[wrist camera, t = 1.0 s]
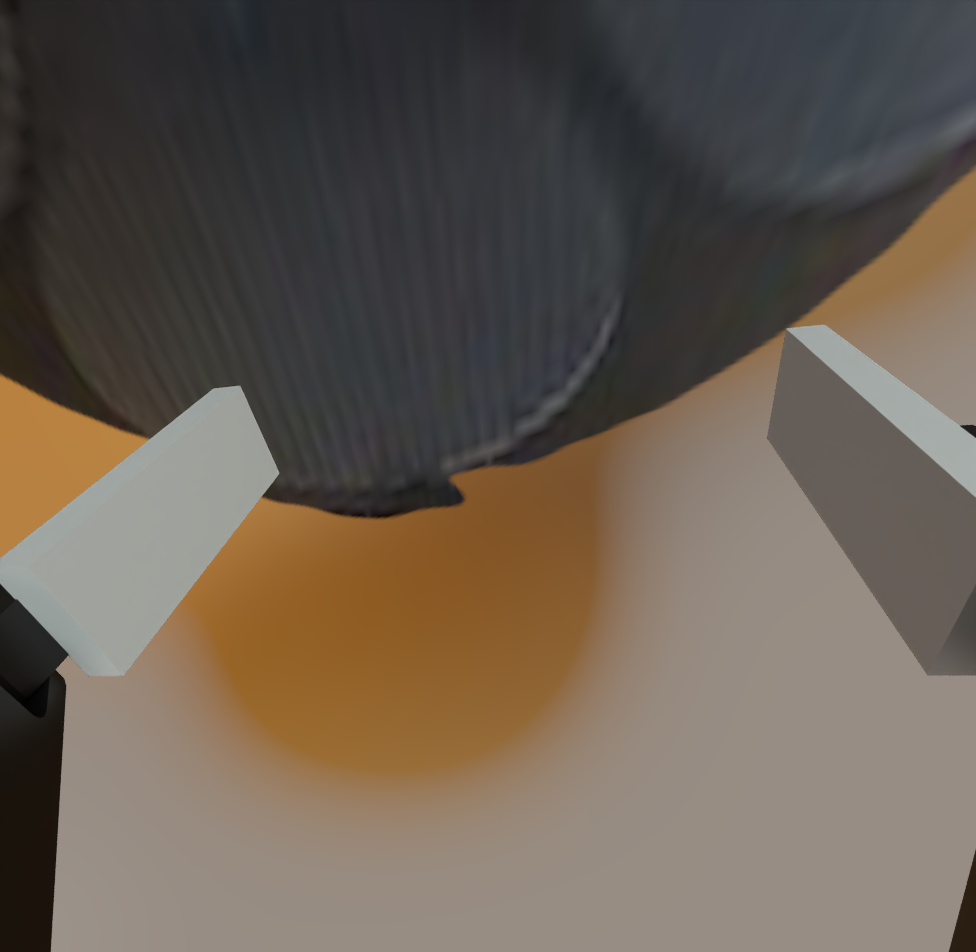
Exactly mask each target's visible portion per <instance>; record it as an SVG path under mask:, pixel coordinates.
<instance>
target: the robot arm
mask: <svg viewBox="0 0 976 952" xmlns="http://www.w3.org/2000/svg"><path fill="white" fill-rule="evenodd" d="M767 439H768V440H769V441H770V443H771V445H772V446H773V447H774V449H775V451H776V452H777V454H778V455H779V456H780V458H781V459H782V461H783V462H784V464H785V465H786V467H787V468H788V470H789V471H790V473H791V474H792V476H793V477H794V479H795V480H796V481H797V483H798V485H799V486H800V488H801V489H802V490H803V492H804V493H805V495H806V496H807V498H808V499H809V501H810V502H811V504H812V505H813V507H814V508H815V510H816V511H817V513H818V514H819V516H820V517H821V519H822V520H823V521H824V523H825V524H826V526H827V527H828V529H829V530H830V532H831V533H832V535H833V536H834V538H835V539H836V541H837V542H838V544H839V545H840V547H841V548H842V549H843V551H844V552H845V554H846V555H847V557H848V558H849V560H850V561H851V563H852V564H853V566H854V567H855V569H856V570H857V572H858V573H859V575H860V576H861V578H862V579H863V581H864V582H865V583H866V585H867V586H868V588H869V589H870V591H871V592H872V594H873V595H874V597H875V598H876V600H877V601H878V603H879V604H880V606H881V607H882V609H883V610H884V612H885V613H886V614H887V616H888V617H889V619H890V620H891V622H892V623H893V625H894V626H895V628H896V629H897V631H898V632H899V633H900V635H901V636H902V638H903V640H904V641H905V643H906V644H907V646H908V647H909V649H910V650H911V651H912V653H913V654H914V656H915V657H916V659H917V660H918V662H919V663H920V665H921V666H922V668H923V669H924V671H925V672H926V674H927V675H976V426H974V425H962V426H959V425H958V424H956V423H955V422H954V421H952V420H951V419H950V418H948V417H947V416H946V415H944V414H943V413H942V412H940V411H939V410H938V409H936V408H935V407H934V406H932V405H931V404H929V403H928V402H927V401H926V400H924V399H923V398H922V397H920V396H919V395H918V394H916V393H915V392H914V391H912V390H911V389H909V388H908V387H907V386H906V385H904V384H903V383H902V382H900V381H899V380H898V379H896V378H895V377H893V376H892V375H891V374H890V373H888V372H887V371H886V370H884V369H883V368H882V367H880V366H879V365H878V364H876V363H875V362H874V361H872V360H871V359H870V358H868V357H867V356H866V355H864V354H863V353H862V352H860V351H859V350H858V349H856V348H855V347H854V346H852V345H851V344H850V343H848V342H847V341H846V340H844V339H843V338H842V337H840V336H839V335H838V334H836V333H835V332H834V331H832V330H831V329H830V328H828V327H827V326H826V325H816V326H807V327H797V328H787V329H786V332H785V338H784V343H783V349H782V355H781V361H780V366H779V372H778V378H777V384H776V389H775V395H774V401H773V407H772V413H771V419H770V425H769V430H768V436H767ZM278 475H279V471H278V469H277V467H276V465H275V462H274V460H273V458H272V456H271V454H270V451H269V449H268V447H267V445H266V442H265V440H264V438H263V436H262V433H261V431H260V429H259V427H258V425H257V422H256V420H255V418H254V416H253V413H252V411H251V409H250V407H249V404H248V402H247V400H246V398H245V396H244V393H243V391H242V389H241V387H240V386H234V387H224V388H214V389H213V390H211V391H210V392H209V393H208V394H206V395H205V396H204V397H202V398H201V399H200V400H199V401H197V402H196V403H195V404H194V405H192V406H191V407H190V408H189V409H187V410H186V411H185V412H184V413H182V414H181V415H180V416H179V417H177V418H176V419H175V420H174V421H172V422H171V423H170V424H169V425H167V426H166V427H165V428H164V429H162V430H161V431H160V432H158V433H157V434H156V435H155V436H153V437H152V438H151V439H150V440H148V441H147V442H146V443H145V444H143V445H142V446H141V447H140V448H138V449H137V450H136V451H135V452H133V453H132V454H131V455H130V456H128V457H127V458H126V459H125V460H123V461H122V462H121V463H119V464H118V465H117V466H116V467H114V468H113V469H112V470H111V471H109V472H108V473H107V474H106V475H104V476H103V477H102V478H101V479H99V480H98V481H97V482H96V483H94V484H93V485H92V486H91V487H89V488H88V489H87V490H86V491H84V492H83V493H82V494H81V495H79V496H78V497H77V498H75V499H74V500H73V501H72V502H70V503H69V504H68V505H67V506H65V507H64V508H63V509H62V510H61V511H59V512H58V513H57V514H55V515H54V516H53V517H52V518H51V519H49V520H48V521H47V522H45V523H44V524H43V525H42V526H40V527H39V528H38V529H37V530H35V531H34V532H33V533H32V534H30V535H29V536H28V537H27V538H25V539H24V540H23V541H21V542H20V543H19V544H18V545H16V547H14V548H13V549H11V550H10V551H9V552H8V553H6V554H5V555H4V556H3V557H1V558H0V952H51V937H52V920H53V919H52V918H53V903H54V885H55V868H56V852H57V834H58V817H59V800H60V783H61V766H62V749H63V732H64V715H65V697H66V684H65V680H64V678H63V677H62V676H61V675H60V674H59V673H58V672H57V671H56V670H55V669H56V668H57V667H58V666H59V665H60V664H61V663H62V662H63V661H64V659H65V658H66V657H67V656H69V657H70V658H71V659H72V660H73V661H74V662H75V663H76V664H77V665H78V666H79V667H80V669H82V671H83V672H84V673H85V674H86V675H87V676H124V675H125V673H126V672H127V670H128V669H129V668H130V667H131V666H132V664H133V663H134V662H135V660H136V659H137V658H138V656H139V655H140V654H141V652H142V651H143V650H144V648H145V647H146V646H147V645H148V643H149V642H150V640H152V638H153V637H154V636H155V634H156V633H157V631H158V630H159V629H160V628H161V626H162V625H163V624H164V623H165V621H166V620H167V619H168V617H169V616H170V615H171V614H172V612H173V611H174V610H175V608H176V607H177V606H178V604H179V603H180V602H181V601H182V599H183V598H184V597H185V595H186V594H187V593H188V591H189V590H190V589H191V588H192V586H193V585H194V584H195V582H196V581H197V580H198V578H199V577H200V576H201V575H202V573H203V572H204V571H205V569H206V568H207V567H208V565H209V564H210V563H211V562H212V560H213V559H214V558H215V556H216V555H217V554H218V553H219V551H220V550H221V549H222V547H223V546H224V545H225V543H226V542H227V541H228V540H229V538H230V537H231V536H232V534H233V533H234V532H235V530H236V529H237V528H238V526H239V525H240V524H241V522H242V521H243V520H244V518H245V517H246V516H247V515H248V514H249V512H250V511H251V510H252V508H253V507H254V506H255V504H256V503H257V502H258V501H259V499H260V498H261V497H262V495H263V494H264V493H265V491H266V490H267V489H268V488H269V486H270V485H271V484H272V482H273V481H274V480H275V478H276V477H277V476H278ZM949 952H976V851H975V855H974V858H973V862H972V866H971V870H970V874H969V877H968V881H967V885H966V889H965V893H964V896H963V900H962V904H961V908H960V911H959V915H958V919H957V923H956V927H955V930H954V934H953V938H952V942H951V946H950V949H949Z"/></svg>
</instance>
